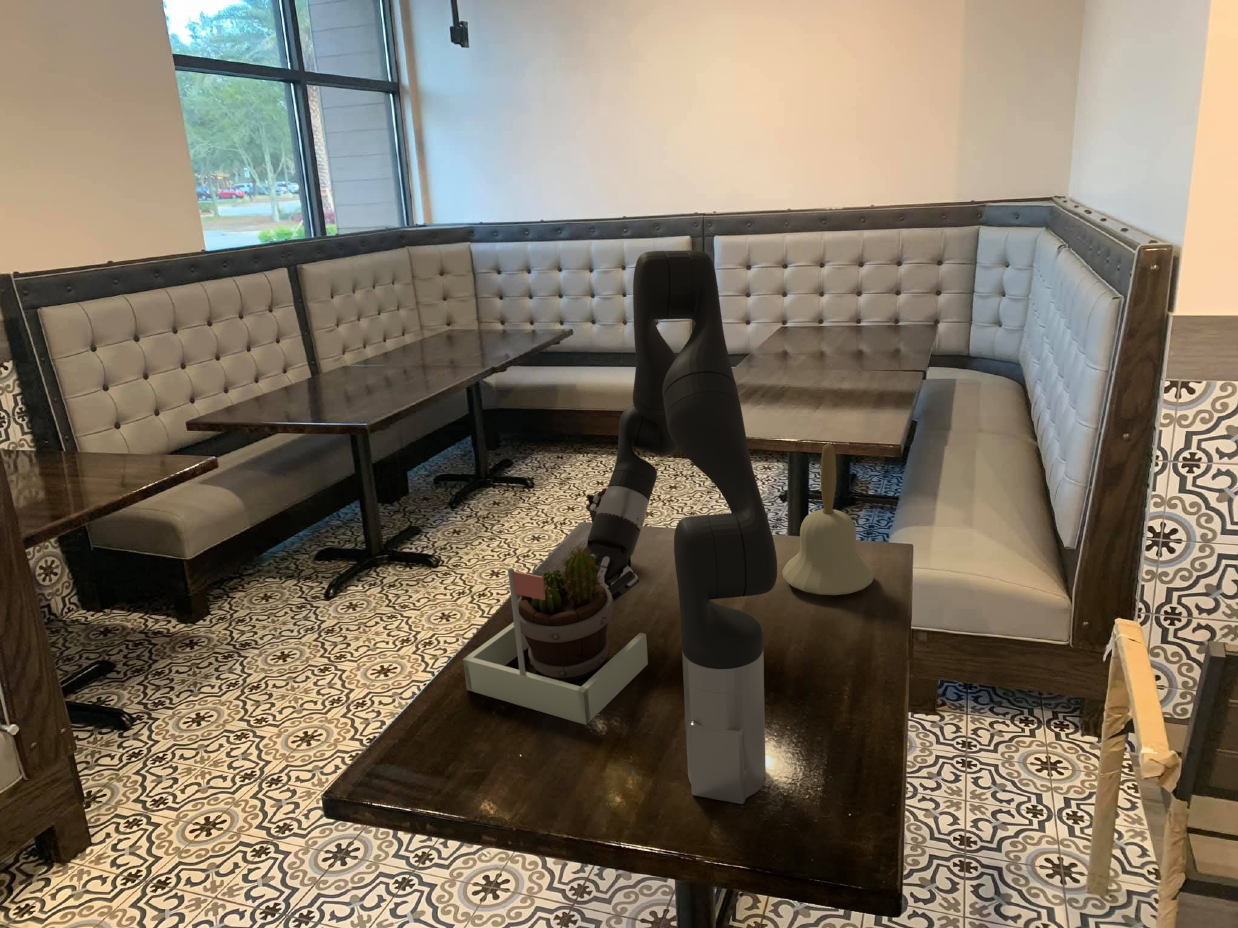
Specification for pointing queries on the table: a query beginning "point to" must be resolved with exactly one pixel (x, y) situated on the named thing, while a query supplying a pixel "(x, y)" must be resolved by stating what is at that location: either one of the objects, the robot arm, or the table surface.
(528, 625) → the flowerpot
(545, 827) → the table surface
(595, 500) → the sundae
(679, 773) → the table surface
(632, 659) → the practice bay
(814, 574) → the handbell
